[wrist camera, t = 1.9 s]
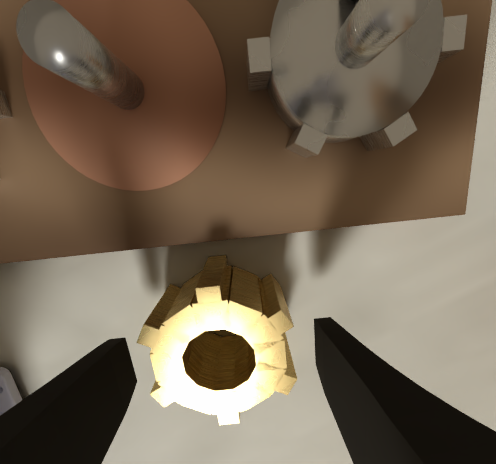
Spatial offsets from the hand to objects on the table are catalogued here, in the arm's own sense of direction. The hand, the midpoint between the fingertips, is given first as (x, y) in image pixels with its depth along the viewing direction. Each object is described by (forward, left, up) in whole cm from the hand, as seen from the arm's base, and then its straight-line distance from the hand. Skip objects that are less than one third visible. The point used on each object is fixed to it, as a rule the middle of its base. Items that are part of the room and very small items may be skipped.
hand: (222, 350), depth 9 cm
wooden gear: (0, 0, -3) cm, 3 cm away
